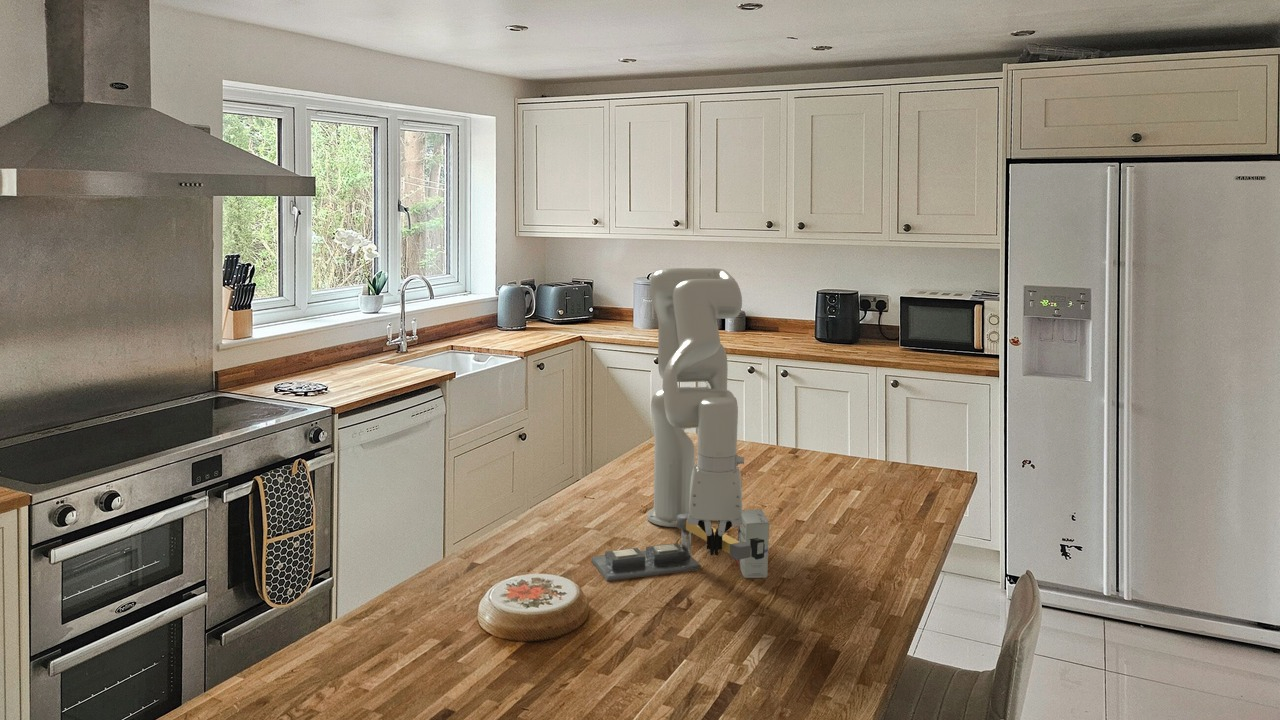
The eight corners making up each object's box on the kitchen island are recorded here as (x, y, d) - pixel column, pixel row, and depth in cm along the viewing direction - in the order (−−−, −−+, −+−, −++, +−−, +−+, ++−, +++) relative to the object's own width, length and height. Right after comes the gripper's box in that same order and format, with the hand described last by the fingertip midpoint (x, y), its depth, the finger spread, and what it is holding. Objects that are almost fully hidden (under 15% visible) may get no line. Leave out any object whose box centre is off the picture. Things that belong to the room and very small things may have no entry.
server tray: (680, 550, 210) (681, 519, 209) (700, 569, 200) (701, 536, 198) (591, 561, 203) (591, 529, 202) (607, 581, 193) (607, 547, 192)
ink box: (736, 562, 204) (737, 508, 202) (759, 561, 204) (761, 508, 202) (744, 578, 195) (745, 522, 193) (767, 578, 196) (769, 522, 194)
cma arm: (673, 525, 204) (673, 514, 203) (689, 522, 206) (689, 511, 205) (735, 560, 185) (735, 548, 185) (752, 556, 187) (752, 544, 187)
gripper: (754, 457, 189) (751, 547, 193) (677, 455, 190) (675, 544, 193) (757, 468, 182) (753, 561, 185) (677, 466, 183) (675, 559, 186)
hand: (714, 552), depth 189 cm, fingers closed
